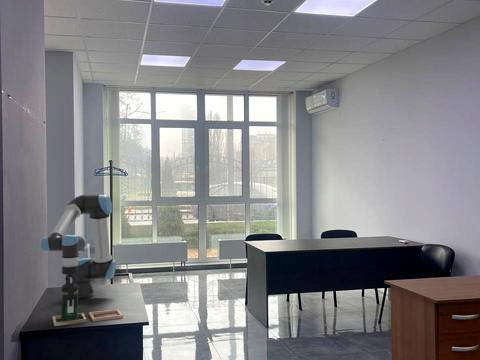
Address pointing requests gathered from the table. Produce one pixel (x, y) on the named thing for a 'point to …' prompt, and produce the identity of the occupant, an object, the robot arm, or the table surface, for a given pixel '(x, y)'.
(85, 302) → the table surface
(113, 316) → the frame
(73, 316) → the coffee jar
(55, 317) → the frame
